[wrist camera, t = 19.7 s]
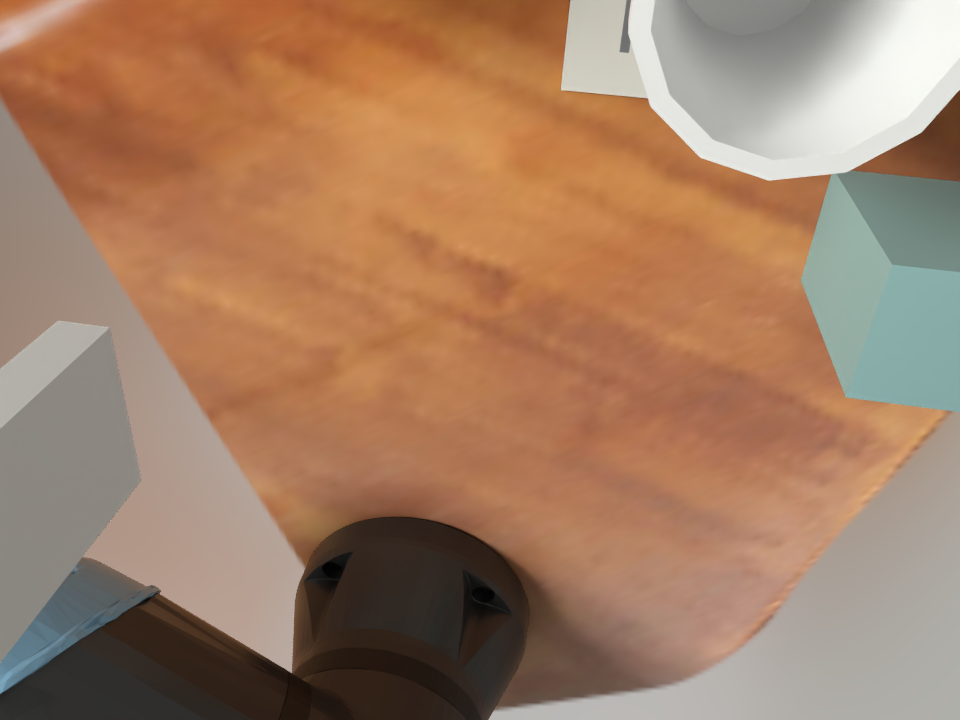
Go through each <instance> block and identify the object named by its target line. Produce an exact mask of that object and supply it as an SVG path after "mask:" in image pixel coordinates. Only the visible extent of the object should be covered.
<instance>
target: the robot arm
mask: <svg viewBox="0 0 960 720" xmlns="http://www.w3.org/2000/svg"><path fill="white" fill-rule="evenodd" d="M140 482H141V475H140V470H139V466H138V461H137V456H136V451H135V447H134V441H133V436H132V432H131V427H130V422H129V417H128V412H127V408H126V403H125V398H124V393H123V388H122V384H121V378H120V374H119V369H118V364H117V359H116V354H115V349H114V344H113V340H112V335H111V331H110V327H102V326H95V325H87V324H80V323H73V322H65V321H57V322H56V323H55V324H54V325H53V326H51V327H50V328H49V329H48V330H46V331H45V332H44V333H43V334H42V335H40V336H39V337H38V338H37V339H36V340H35V341H33V342H32V343H31V344H30V345H28V346H27V347H26V348H25V349H24V350H23V351H21V352H20V353H19V354H17V355H16V356H15V357H14V358H13V359H12V360H10V361H9V362H8V363H7V364H5V365H4V366H3V367H2V368H1V369H0V720H488V719H489V718H490V716H491V714H492V712H493V711H494V709H495V707H496V705H497V703H498V702H499V700H500V698H501V696H502V695H503V693H504V691H505V689H506V688H507V686H508V684H509V682H510V681H511V679H512V677H513V675H514V674H515V672H516V670H517V668H518V667H519V665H520V662H521V660H522V657H523V654H524V650H525V645H526V639H527V631H528V624H529V607H528V602H527V598H526V595H525V592H524V590H523V587H522V585H521V583H520V582H519V580H518V578H517V577H516V575H515V574H514V572H513V571H512V570H511V569H510V567H509V566H508V565H507V564H506V563H505V562H504V561H503V560H502V559H501V558H500V557H499V556H498V555H497V554H496V553H494V552H493V551H492V550H491V549H489V548H488V547H487V546H485V545H484V544H482V543H481V542H479V541H478V540H476V539H474V538H472V537H471V536H469V535H467V534H465V533H463V532H460V531H458V530H456V529H453V528H450V527H448V526H445V525H442V524H438V523H435V522H431V521H426V520H421V519H414V518H405V517H383V518H374V519H368V520H364V521H360V522H356V523H353V524H350V525H348V526H345V527H343V528H341V529H339V530H337V531H336V532H334V533H333V534H331V535H330V536H328V537H327V538H326V539H325V540H324V541H323V542H322V543H321V544H320V545H319V546H318V547H317V548H316V550H315V551H314V553H313V554H312V556H311V558H310V560H309V562H308V565H307V567H306V569H305V571H304V574H303V576H302V578H301V580H300V583H299V586H298V589H297V593H296V599H295V615H294V616H295V617H294V638H293V663H292V673H290V672H288V671H287V670H285V669H284V668H282V667H280V666H279V665H277V664H275V663H274V662H272V661H270V660H269V659H267V658H265V657H264V656H262V655H260V654H259V653H257V652H255V651H254V650H252V649H250V648H249V647H247V646H245V645H244V644H242V643H240V642H239V641H237V640H235V639H234V638H232V637H230V636H228V635H227V634H225V633H224V632H222V631H220V630H218V629H217V628H215V627H214V626H212V625H210V624H208V623H207V622H205V621H204V620H202V619H200V618H199V617H197V616H195V615H193V614H192V613H190V612H189V611H186V610H185V609H183V608H182V607H180V606H179V605H177V604H175V603H173V602H172V601H170V600H168V599H167V598H165V597H164V596H162V595H160V594H159V593H160V592H161V590H159V589H158V588H157V587H156V586H153V585H151V586H144V585H143V584H141V583H139V582H137V581H135V580H133V579H131V578H129V577H127V576H126V575H124V574H122V573H120V572H118V571H116V570H114V569H112V568H110V567H108V566H106V565H105V564H103V563H101V562H99V561H96V560H94V559H90V558H85V557H83V555H84V554H85V553H86V552H87V550H88V549H89V548H90V546H91V545H92V544H93V542H94V541H95V540H96V539H97V537H98V536H99V535H100V533H101V532H102V531H103V529H104V528H105V527H106V526H107V524H108V523H109V522H110V520H111V519H112V518H113V517H114V515H115V514H116V513H117V511H118V510H119V509H120V507H121V506H122V505H123V504H124V502H125V501H126V500H127V498H128V497H129V496H130V495H131V493H132V492H133V491H134V489H135V488H136V487H137V485H138V484H139V483H140Z"/></svg>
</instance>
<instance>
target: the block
mask: <svg viewBox="0 0 960 720" xmlns="http://www.w3.org/2000/svg"><path fill="white" fill-rule="evenodd" d="M801 282H802V285H803V287H804V290H805V292H806V295H807V298H808V300H809V303H810V305H811V308H812V311H813V313H814V316H815V318H816V321H817V324H818V326H819V329H820V331H821V334H822V337H823V339H824V342H825V344H826V347H827V350H828V352H829V355H830V357H831V360H832V363H833V365H834V368H835V370H836V373H837V376H838V378H839V381H840V383H841V386H842V389H843V391H844V394H845V396H846V398H854V399H862V400H870V401H878V402H885V403H893V404H901V405H909V406H917V407H924V408H932V409H940V410H948V411H956V412H960V182H959V181H949V180H939V179H929V178H919V177H909V176H900V175H890V174H880V173H870V172H860V171H848V172H845V173H836V174H831V178H830V181H829V185H828V188H827V192H826V195H825V199H824V202H823V206H822V209H821V213H820V216H819V220H818V223H817V226H816V230H815V233H814V237H813V240H812V244H811V247H810V251H809V254H808V258H807V261H806V265H805V268H804V272H803V275H802V278H801Z"/></svg>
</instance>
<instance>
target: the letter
mask: <svg viewBox="0 0 960 720" xmlns="http://www.w3.org/2000/svg"><path fill="white" fill-rule="evenodd" d="M630 4H631V0H570V8H569V18H568V27H567V37H566V46H565V56H564V65H563V75H562V84H561V90H566V91H577V92H587V93H597V94H608V95H618V96H628V97H639V98H648V97H647V93H646V90H645V87H644V84H643V80H642V77H641V74H640V71H639V67H638V64H637V61H636V58H635V54H634V51H633V48H632V44H631V41H630V38H629V35H628V19H629V12H630Z"/></svg>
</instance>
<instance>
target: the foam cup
mask: <svg viewBox="0 0 960 720" xmlns="http://www.w3.org/2000/svg"><path fill="white" fill-rule="evenodd" d="M628 35H629V38H630V41H631V44H632V48H633V51H634V54H635V58H636V61H637V64H638V67H639V71H640V74H641V77H642V80H643V84H644V87H645V90H646V93H647V97H648V100H649V103H650V107H651V108H652V109H653V110H654V111H655V112H656V113H657V114H658V115H659V116H660V117H661V118H662V119H663V120H664V121H665V122H666V123H667V124H668V125H669V126H670V127H671V128H672V129H673V130H674V131H675V132H676V133H677V134H678V135H679V136H680V137H681V138H682V139H683V140H684V141H685V142H686V143H687V145H688V146H689V147H690V148H691V149H692V150H693V151H694V152H695V153H696V154H697V155H698V156H699V157H700V158H703V159H706V160H709V161H712V162H715V163H718V164H721V165H724V166H727V167H730V168H733V169H736V170H739V171H742V172H745V173H748V174H751V175H754V176H757V177H760V178H763V179H766V180H768V181H769V180H779V179H788V178H798V177H807V176H817V175H826V174H836V173H845V172H848V171H850V170H852V169H854V168H855V167H857V166H859V165H861V164H863V163H865V162H867V161H869V160H871V159H872V158H874V157H876V156H878V155H880V154H882V153H884V152H886V151H888V150H890V149H891V148H893V147H895V146H897V145H899V144H901V143H903V142H905V141H907V140H909V139H910V138H912V137H914V136H916V135H918V134H920V133H922V132H923V130H924V129H925V128H926V127H927V126H928V125H929V124H930V123H931V121H932V120H933V119H934V118H935V117H936V116H937V115H938V113H939V112H940V111H941V110H942V109H943V108H944V107H945V106H946V104H947V103H948V102H949V101H950V100H951V99H952V98H953V97H954V95H955V94H956V93H957V92H958V91H959V90H960V0H631V4H630V12H629V19H628Z"/></svg>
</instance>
